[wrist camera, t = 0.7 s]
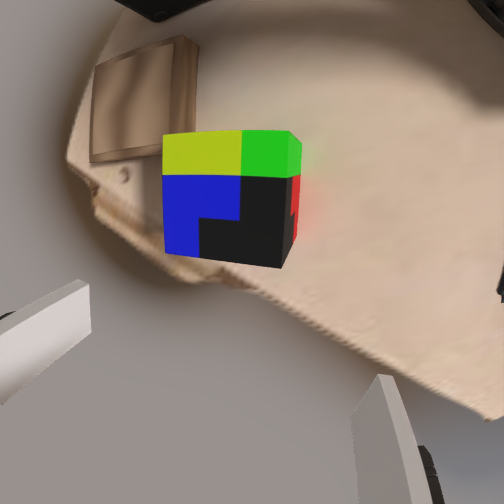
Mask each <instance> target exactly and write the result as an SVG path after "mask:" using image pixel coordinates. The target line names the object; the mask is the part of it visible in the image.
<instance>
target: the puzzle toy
mask: <svg viewBox="0 0 504 504" xmlns="http://www.w3.org/2000/svg"><path fill="white" fill-rule="evenodd" d="M301 154H302V143H301V142H300V141H299V140H298V139H297V138H296V137H295V136H294V135H293V134H292V133H291V132H289V131H276V130H230V131H206V132H191V133H178V134H168V135H163V160H162V184H163V221H164V241H165V253H167V254H174V255H182V256H189V257H196V258H203V259H211V260H218V261H225V262H233V263H240V264H248V265H256V266H263V267H271V268H279V269H281V268H282V266H283V264H284V262H285V260H286V258H287V256H288V253H289V251H290V249H291V247H292V245H293V243H294V240H295V238H296V236H297V222H298V208H299V193H300V175H301Z"/></svg>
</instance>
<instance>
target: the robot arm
mask: <svg viewBox="0 0 504 504" xmlns="http://www.w3.org/2000/svg"><path fill="white" fill-rule="evenodd" d="M469 2H470V3H471V4H472V6H473V7H474V8H475V9H476V10H477V12H478V13H479V14H480V15H481V16H482V17H483V18H484V19H485V20H486V21H487V22H488V23H489V24H490V25H491V26H492V27H493V28H494V29H495V30H496V31H497V32H499V33H500V34H501V35H502V36H503V37H504V0H469ZM90 333H91V321H90V302H89V284H88V283H86V282H83V281H81V280H79V279H77V280H75V281H73V282H71V283H69V284H67V285H65V286H63V287H61V288H59V289H57V290H55V291H53V292H51V293H49V294H47V295H45V296H43V297H42V298H40V299H38V300H36V301H34V302H32V303H30V304H28V305H27V306H25V307H23V308H21V309H19V310H17V311H14V312H10V313H6V314H4V315H2V316H1V317H0V403H1V404H2V405H3V404H4V403H5V402H6V401H7V400H9V399H10V398H11V397H12V396H13V395H14V394H16V393H17V392H18V391H19V390H20V389H22V388H23V387H24V386H25V385H26V384H28V383H29V382H30V381H31V380H32V379H34V378H35V377H36V376H37V375H38V374H40V373H41V372H42V371H43V370H44V369H45V368H47V367H48V366H49V365H51V364H52V363H53V362H54V361H56V360H57V359H58V358H59V357H61V356H62V355H63V354H64V353H66V352H67V351H68V350H69V349H71V348H72V347H73V346H75V345H76V344H77V343H78V342H80V341H81V340H82V339H84V338H85V337H86V336H87V335H89V334H90ZM350 420H351V428H352V435H353V444H354V452H355V460H356V472H357V484H358V497H359V504H445V503H444V499H443V495H442V491H441V487H440V484H439V480H438V477H437V476H436V474H437V473H436V470H435V468H434V463H433V460H432V457H431V455H430V453H429V452H428V451H427V449H426V448H425V447H424V446H417V443H416V441H415V437H414V434H413V431H412V428H411V425H410V422H409V419H408V416H407V413H406V410H405V408H404V405H403V402H402V399H401V397H400V394H399V391H398V389H397V387H396V384H395V381H394V379H393V376H388V375H382V374H377V376H376V378H375V379H374V381H373V382H372V384H371V386H370V388H369V389H368V390H367V392H366V394H365V395H364V397H363V398H362V400H361V401H360V403H359V404H358V406H357V407H356V409H355V410H354V411H353V413H352V414H351V416H350Z"/></svg>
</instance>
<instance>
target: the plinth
mask: <svg viewBox="0 0 504 504" xmlns="http://www.w3.org/2000/svg"><path fill="white" fill-rule="evenodd" d="M198 51H199V46H198V45H196V44H195V43H194V42H192V41H191V40H190V39H188V38H187V37H186V36H184V35H180V36H177V37H173V38H169V39H166V40H163V41H159V42H156V43H153V44H150V45H147V46H144V47H141V48H138V49H136V50H133V51H130V52H128V53H125V54H122V55H120V56H117V57H115V58H113V59H110V60H108V61H106V62H103V63H101V64H99V65H97V66H95V73H94V81H93V90H92V101H91V115H90V143H89V158H90V163H96V162H109V161H116V160H123V159H131V158H139V157H148V156H157V155H163V135H168V134H178V133H191V132H195V117H196V87H197V67H198Z"/></svg>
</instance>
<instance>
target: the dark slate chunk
mask: <svg viewBox="0 0 504 504" xmlns="http://www.w3.org/2000/svg"><path fill="white" fill-rule="evenodd" d="M498 294H499V295H502V301H501V303H504V273H503V275H502V278H501V282H500V286H499V288H498Z"/></svg>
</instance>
